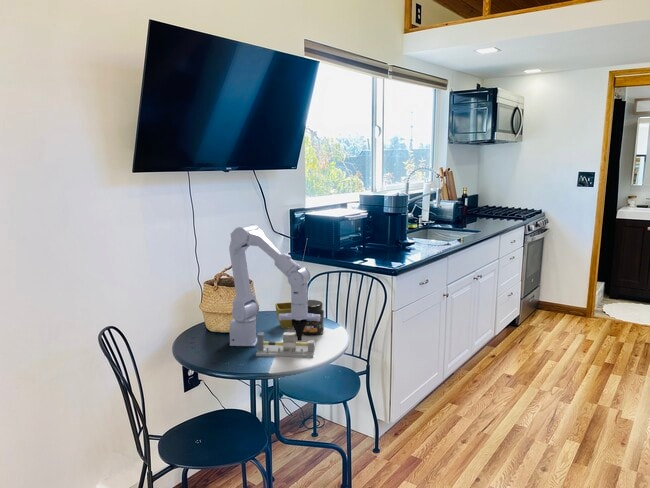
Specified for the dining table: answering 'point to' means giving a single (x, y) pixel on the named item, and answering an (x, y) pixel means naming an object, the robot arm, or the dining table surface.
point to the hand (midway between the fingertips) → (299, 339)
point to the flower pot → (282, 309)
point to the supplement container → (314, 326)
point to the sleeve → (289, 341)
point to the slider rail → (277, 348)
